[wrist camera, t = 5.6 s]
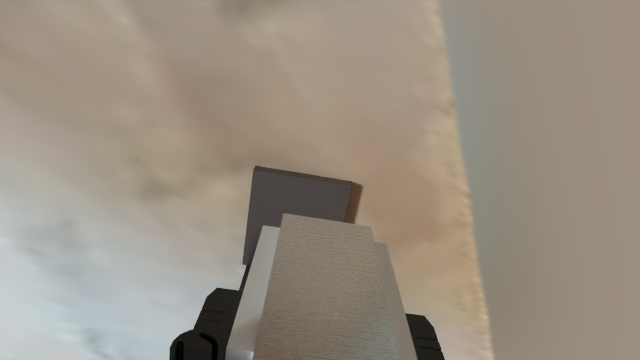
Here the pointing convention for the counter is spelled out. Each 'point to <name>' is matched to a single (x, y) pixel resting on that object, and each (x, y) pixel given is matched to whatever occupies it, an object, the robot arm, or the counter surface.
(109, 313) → the counter surface
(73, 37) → the counter surface
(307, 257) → the beige rectangular block
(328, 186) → the square socket bracket
